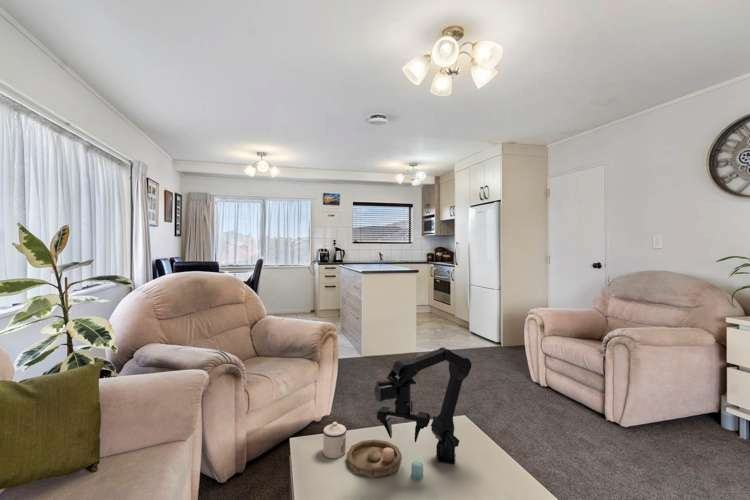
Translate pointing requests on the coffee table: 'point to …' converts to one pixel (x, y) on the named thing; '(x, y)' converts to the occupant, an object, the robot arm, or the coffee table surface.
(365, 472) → the ring tray
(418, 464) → the bead teal
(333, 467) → the coffee table surface
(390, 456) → the bead terracotta
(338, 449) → the teacup with lid
